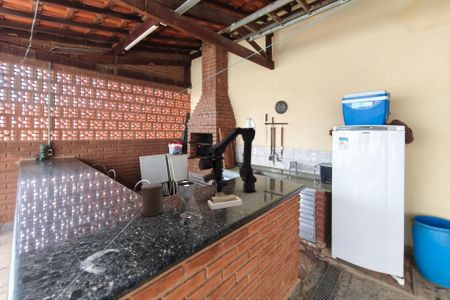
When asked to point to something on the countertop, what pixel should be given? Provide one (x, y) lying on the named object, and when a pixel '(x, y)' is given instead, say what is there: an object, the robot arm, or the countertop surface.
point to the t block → (222, 198)
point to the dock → (225, 204)
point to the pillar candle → (152, 199)
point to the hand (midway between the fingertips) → (218, 195)
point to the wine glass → (186, 196)
